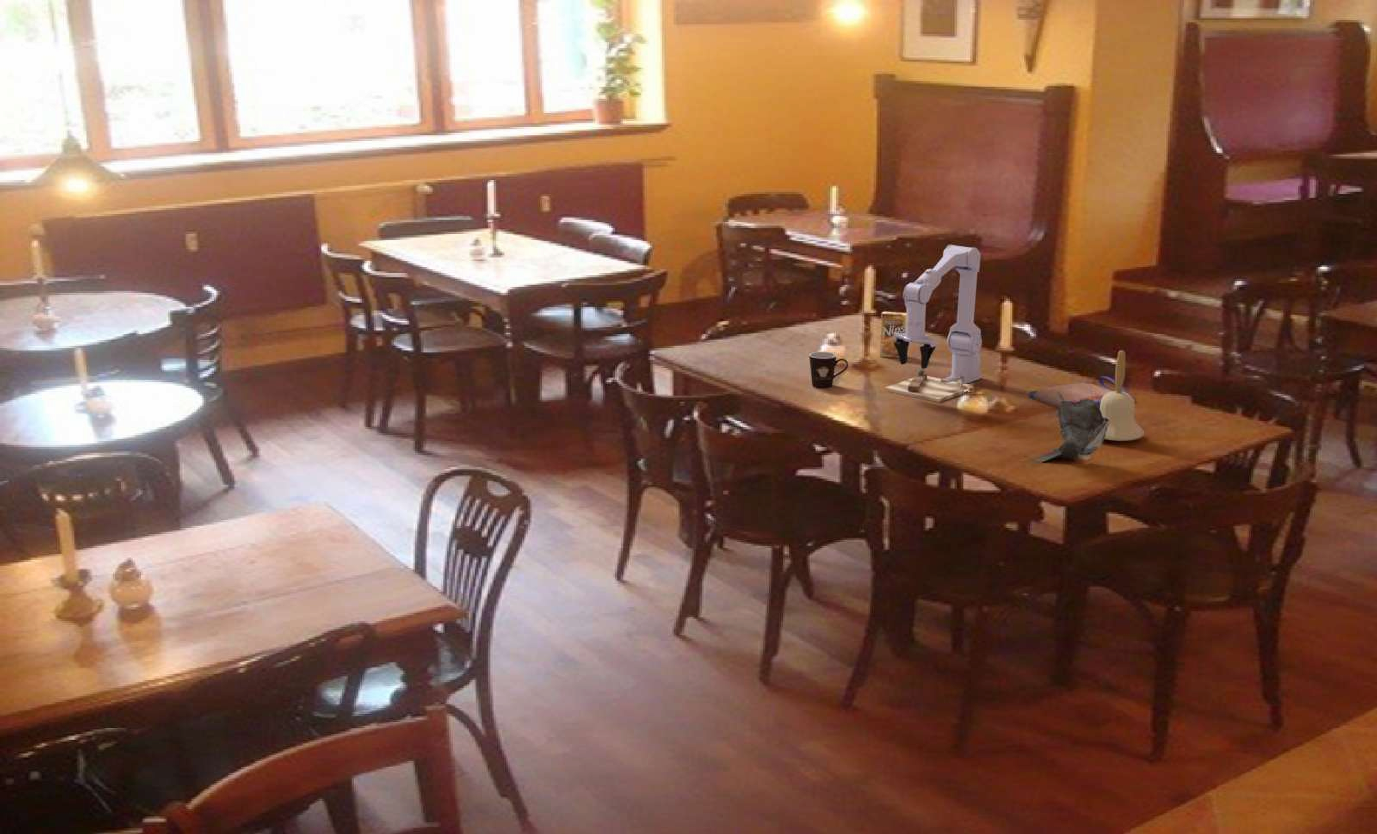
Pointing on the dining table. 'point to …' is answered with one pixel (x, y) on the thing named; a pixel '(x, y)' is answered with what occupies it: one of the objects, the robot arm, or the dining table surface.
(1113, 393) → the handbell
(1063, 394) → the clutch
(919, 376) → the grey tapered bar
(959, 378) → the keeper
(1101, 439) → the grey bird figurine
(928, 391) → the base board
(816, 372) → the coffee mug
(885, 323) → the candy box
